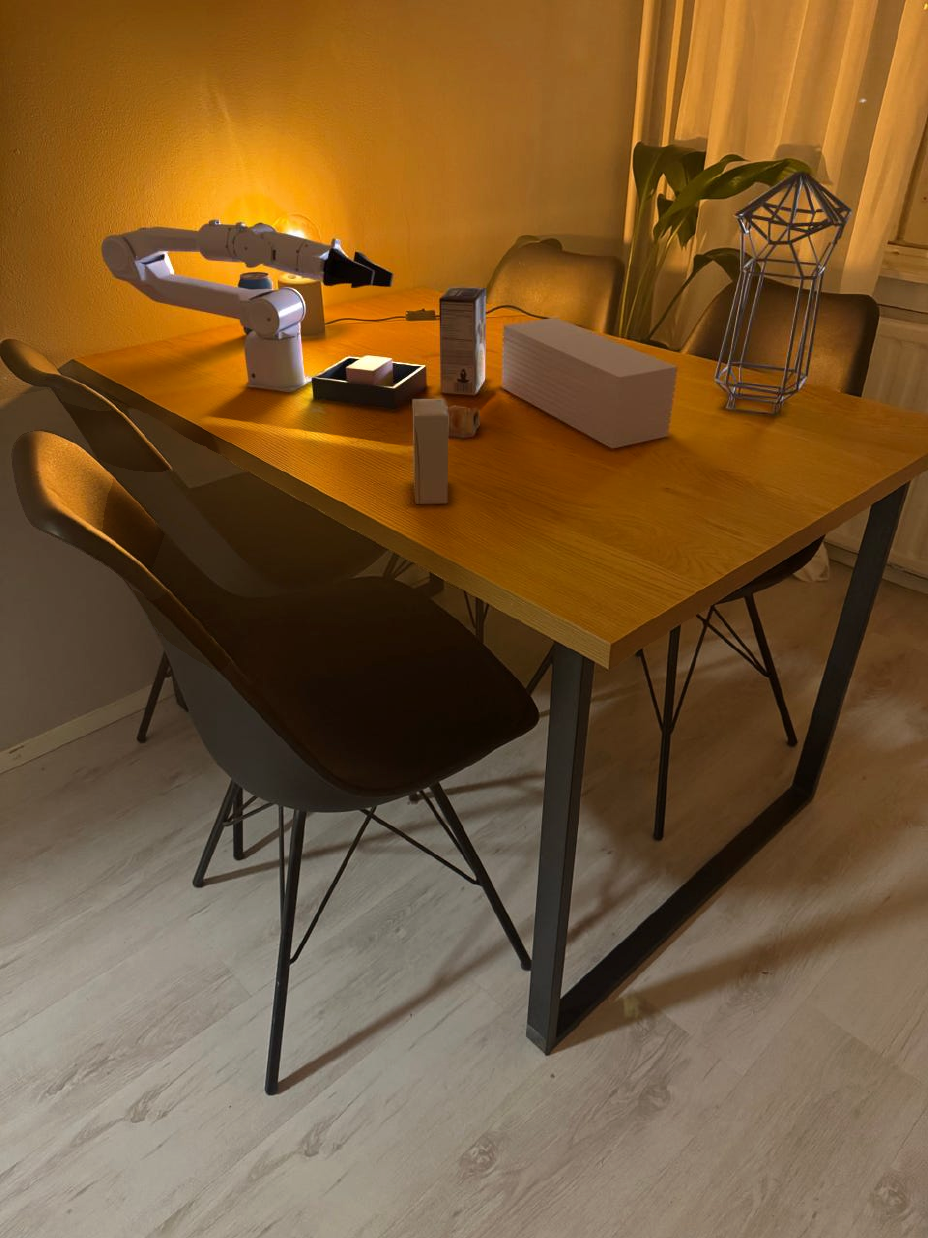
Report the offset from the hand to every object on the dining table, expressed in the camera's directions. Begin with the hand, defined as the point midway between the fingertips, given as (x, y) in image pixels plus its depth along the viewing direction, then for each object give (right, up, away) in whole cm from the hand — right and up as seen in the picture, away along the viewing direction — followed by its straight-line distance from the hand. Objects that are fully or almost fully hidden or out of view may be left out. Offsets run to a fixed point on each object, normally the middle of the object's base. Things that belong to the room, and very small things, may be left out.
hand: (382, 278), depth 138 cm
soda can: (-29, +5, +43) cm, 52 cm away
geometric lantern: (+62, -18, +8) cm, 65 cm away
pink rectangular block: (-3, -15, +12) cm, 19 cm away
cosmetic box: (+9, -37, -22) cm, 44 cm away
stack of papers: (+32, -20, +6) cm, 38 cm away
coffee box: (+13, -13, +15) cm, 24 cm away
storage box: (-3, -15, +12) cm, 20 cm away
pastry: (+11, -25, -2) cm, 27 cm away
